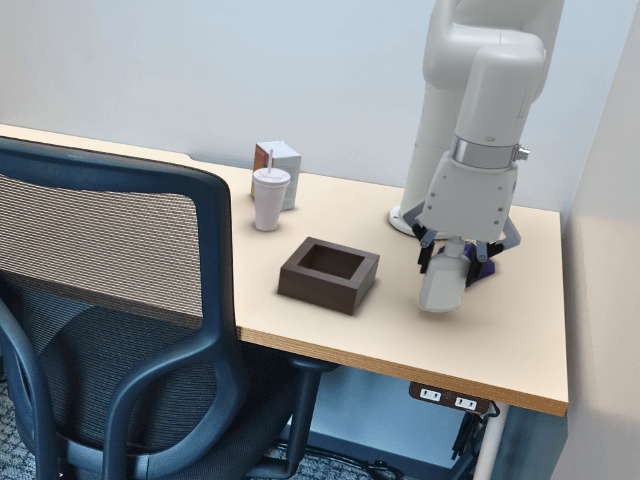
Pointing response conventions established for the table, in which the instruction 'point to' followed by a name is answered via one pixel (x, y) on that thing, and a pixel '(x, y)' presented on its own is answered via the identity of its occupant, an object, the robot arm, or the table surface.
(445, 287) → the eye dropper bottle
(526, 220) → the table surface
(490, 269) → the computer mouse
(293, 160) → the small box
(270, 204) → the smoothie
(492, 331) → the table surface
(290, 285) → the holder
